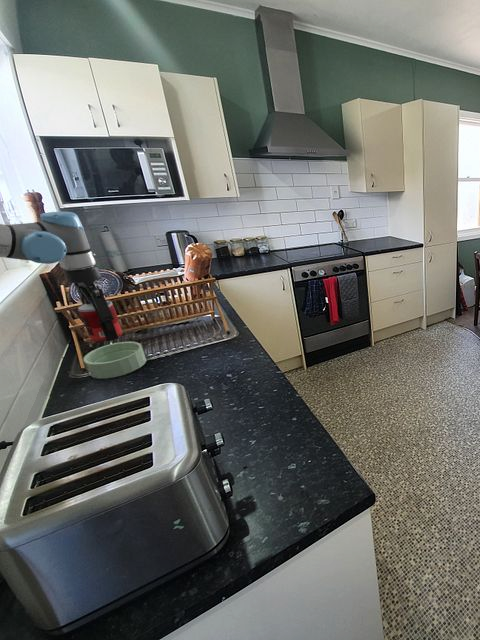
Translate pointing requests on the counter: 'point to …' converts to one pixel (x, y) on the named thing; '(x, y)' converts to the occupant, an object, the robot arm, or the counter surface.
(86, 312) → the canned food
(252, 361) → the counter surface
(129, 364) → the bowl
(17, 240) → the robot arm
